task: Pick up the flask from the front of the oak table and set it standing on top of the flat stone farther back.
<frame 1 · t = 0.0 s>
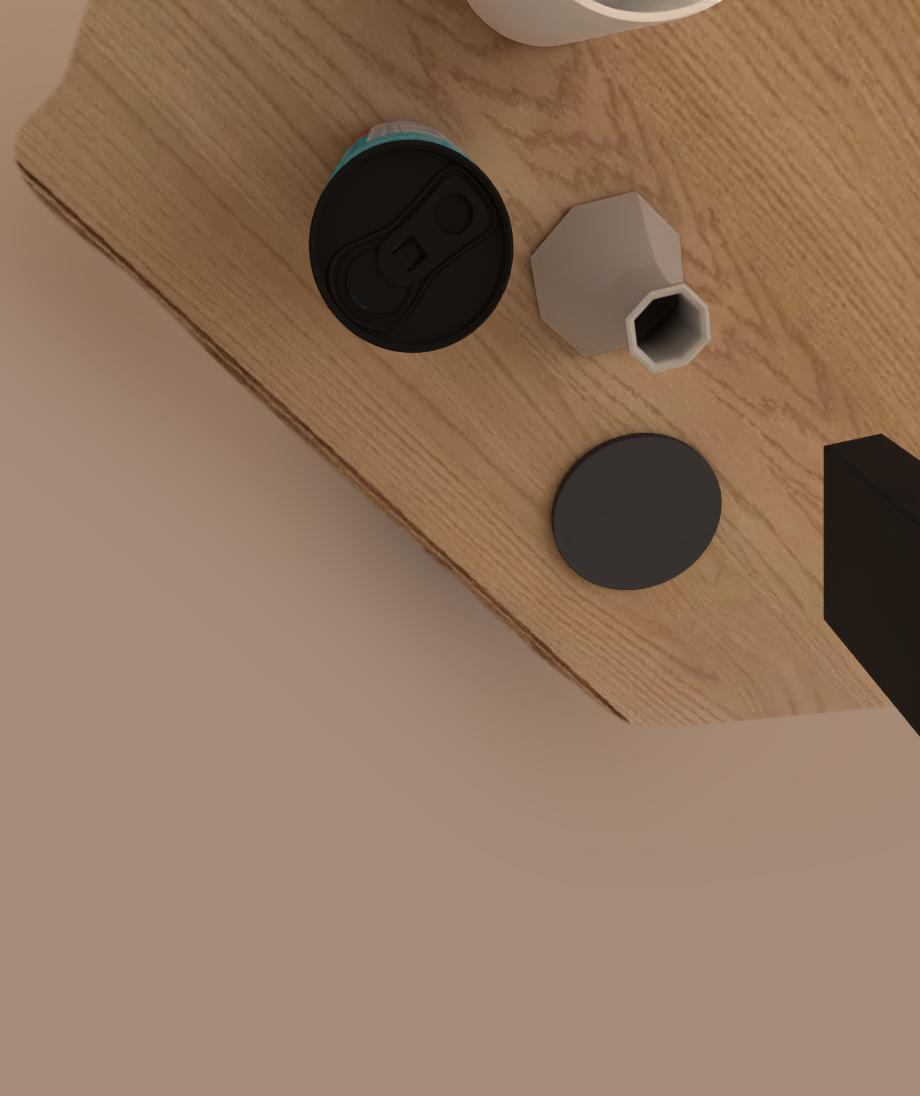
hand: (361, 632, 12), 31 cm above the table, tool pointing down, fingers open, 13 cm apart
beverage can: (403, 193, 39), on the table
slate coaster: (634, 512, 47), on the table
flask: (606, 275, 41), on the table
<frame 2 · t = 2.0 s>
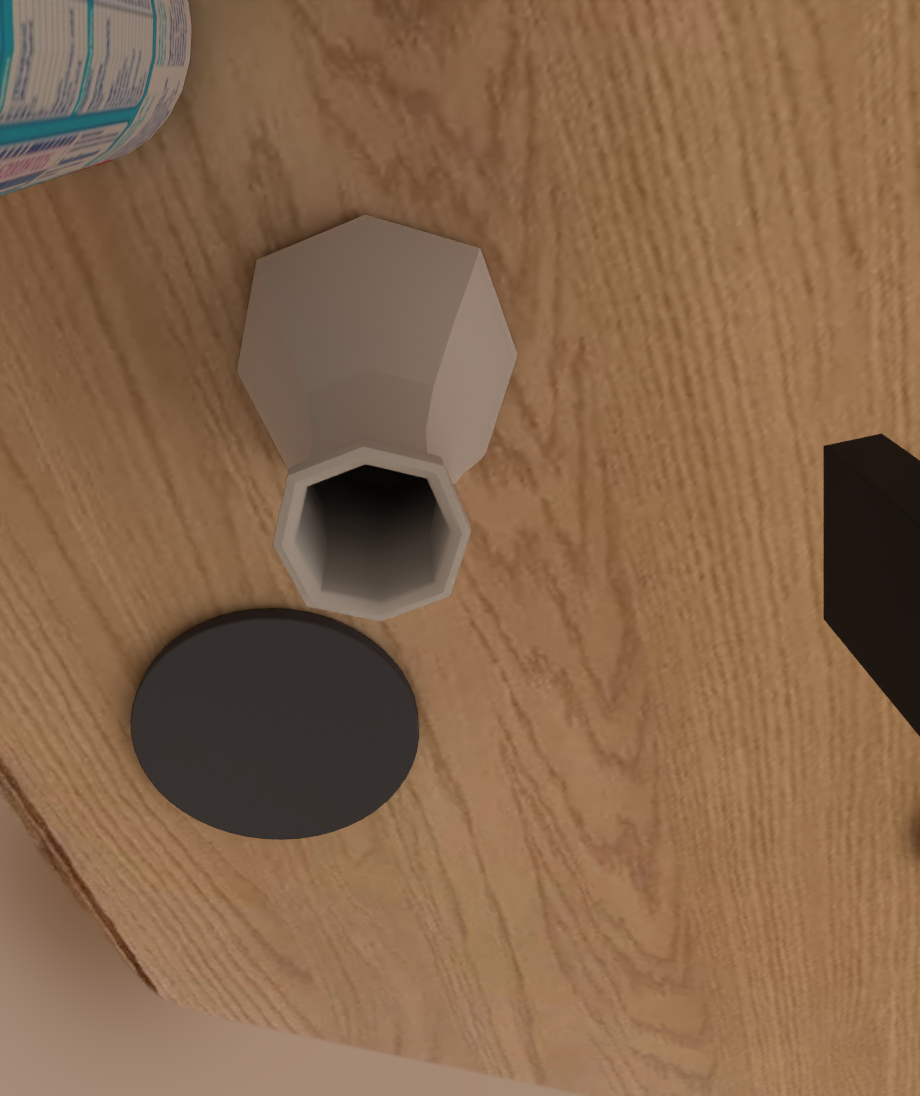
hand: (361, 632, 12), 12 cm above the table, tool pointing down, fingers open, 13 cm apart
beverage can: (60, 14, 19), on the table
slate coaster: (279, 725, 28), on the table
flask: (378, 357, 23), on the table
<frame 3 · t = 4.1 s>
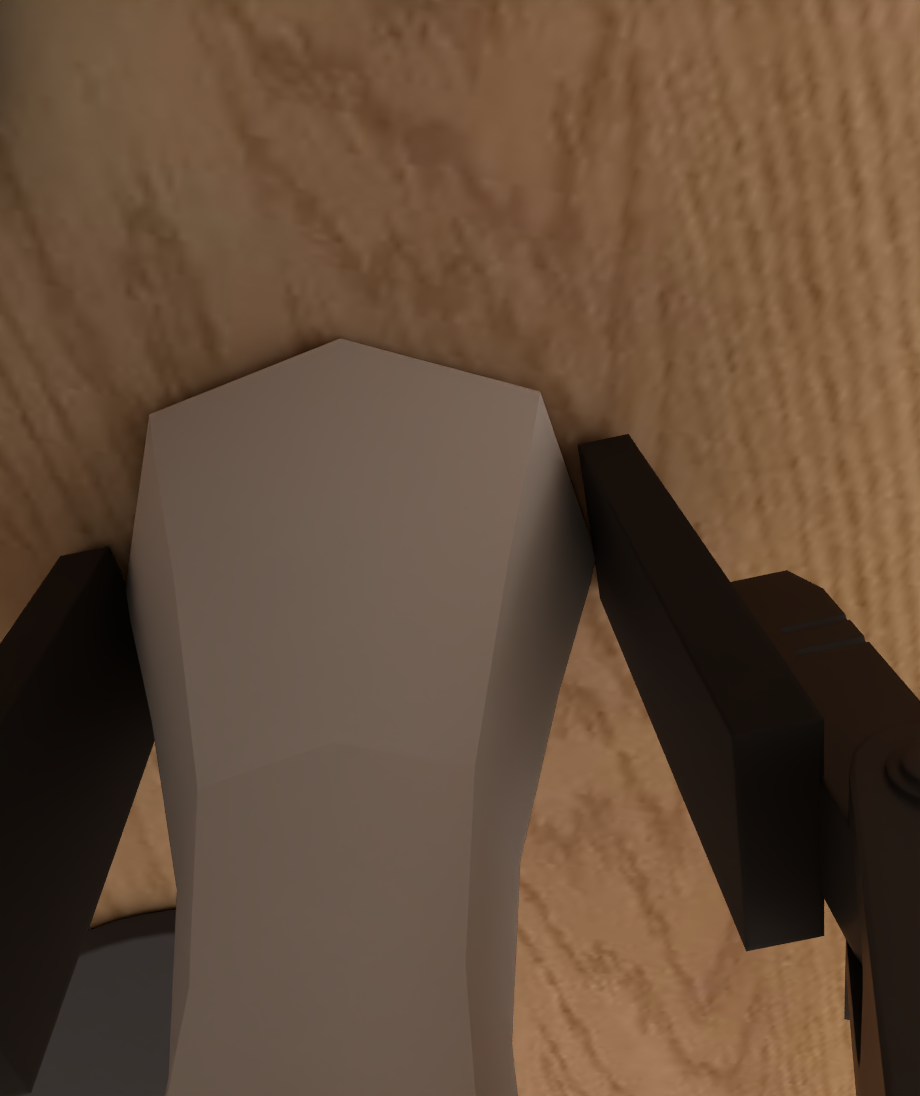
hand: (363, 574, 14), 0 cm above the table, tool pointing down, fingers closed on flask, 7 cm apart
slate coaster: (217, 1049, 19), on the table
flask: (364, 556, 14), on the table, touching gripper
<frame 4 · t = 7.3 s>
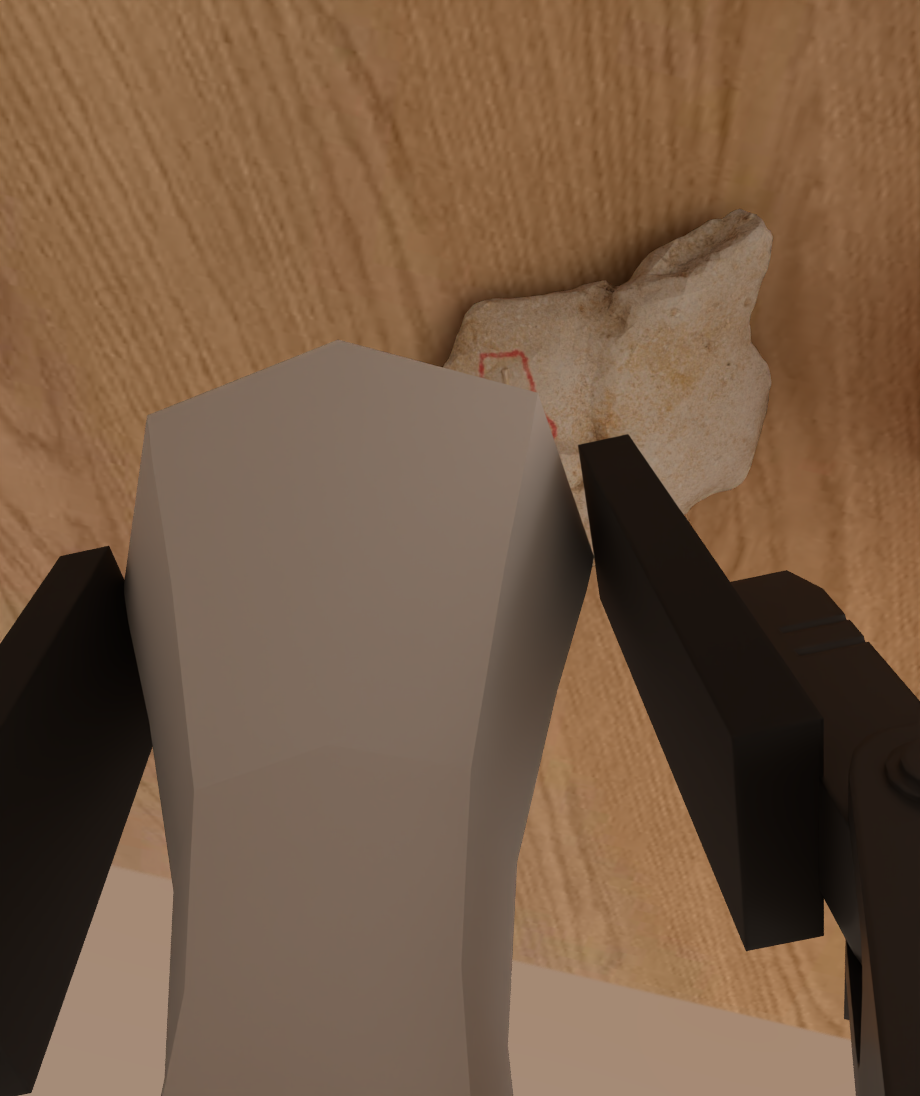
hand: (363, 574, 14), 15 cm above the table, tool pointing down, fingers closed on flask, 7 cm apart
flask: (362, 557, 14), point 15 cm above the table, touching gripper
stone: (584, 421, 29), on the table
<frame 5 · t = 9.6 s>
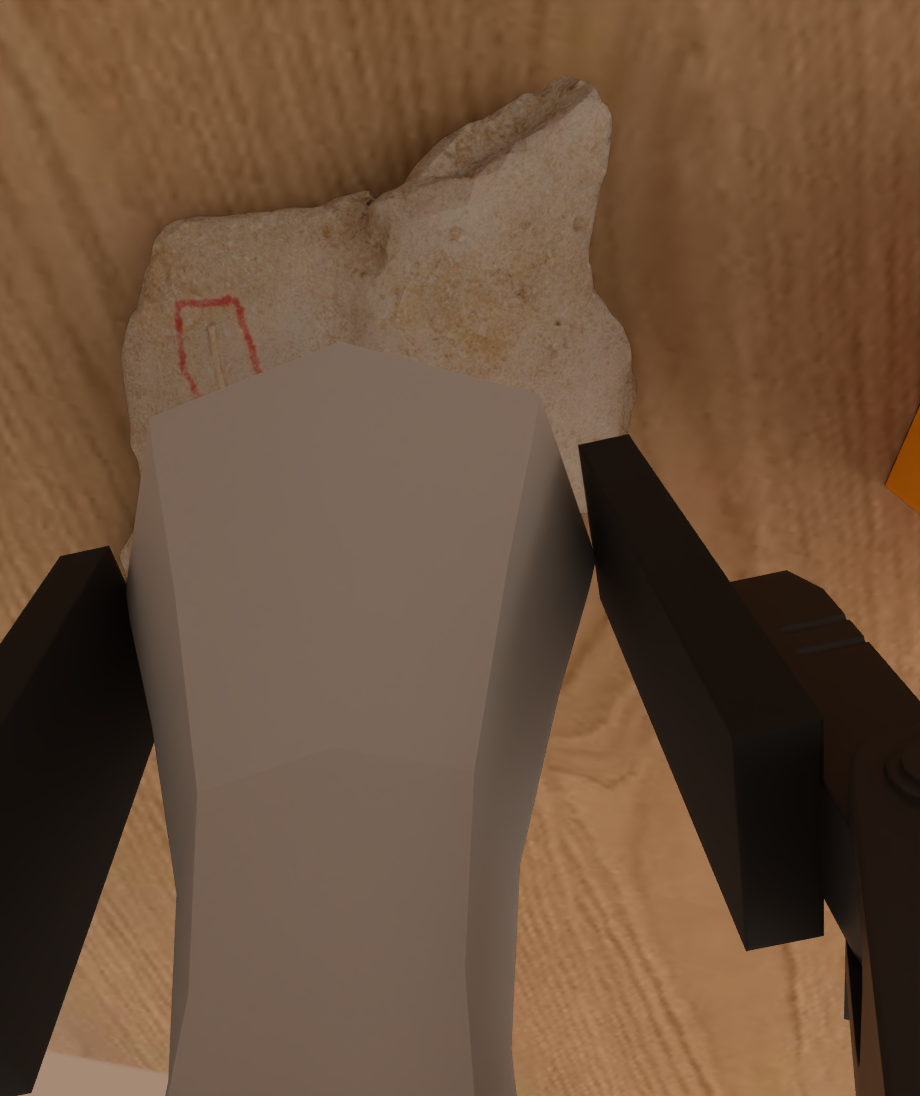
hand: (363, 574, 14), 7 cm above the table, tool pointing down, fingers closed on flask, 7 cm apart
flask: (364, 559, 14), point 7 cm above the table, touching gripper
stone: (370, 410, 20), on the table
when the fingers open (3 cm above the table, at t = 11.1 s): flask stays where it is, resting on stone.
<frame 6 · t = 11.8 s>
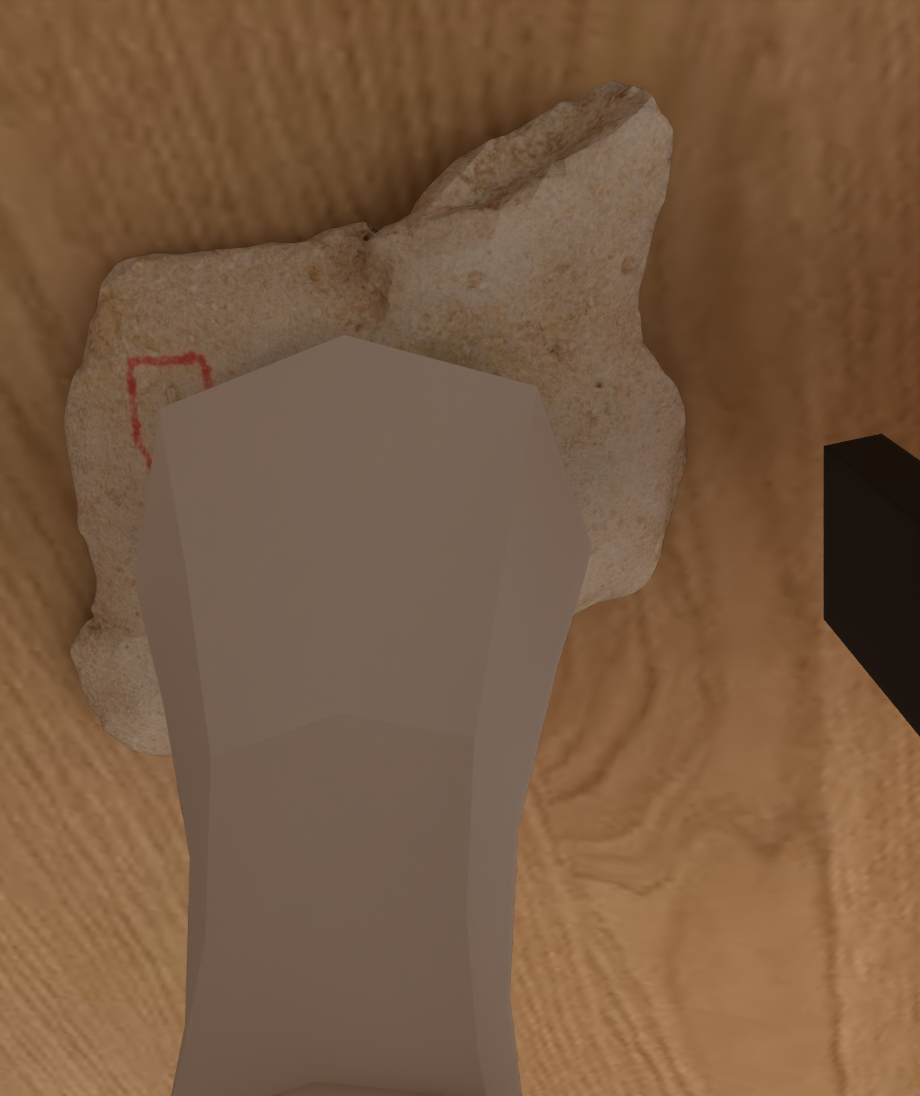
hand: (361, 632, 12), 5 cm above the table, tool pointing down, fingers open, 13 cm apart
flask: (367, 548, 14), point 3 cm above the table, touching stone
stone: (368, 478, 17), on the table, touching flask
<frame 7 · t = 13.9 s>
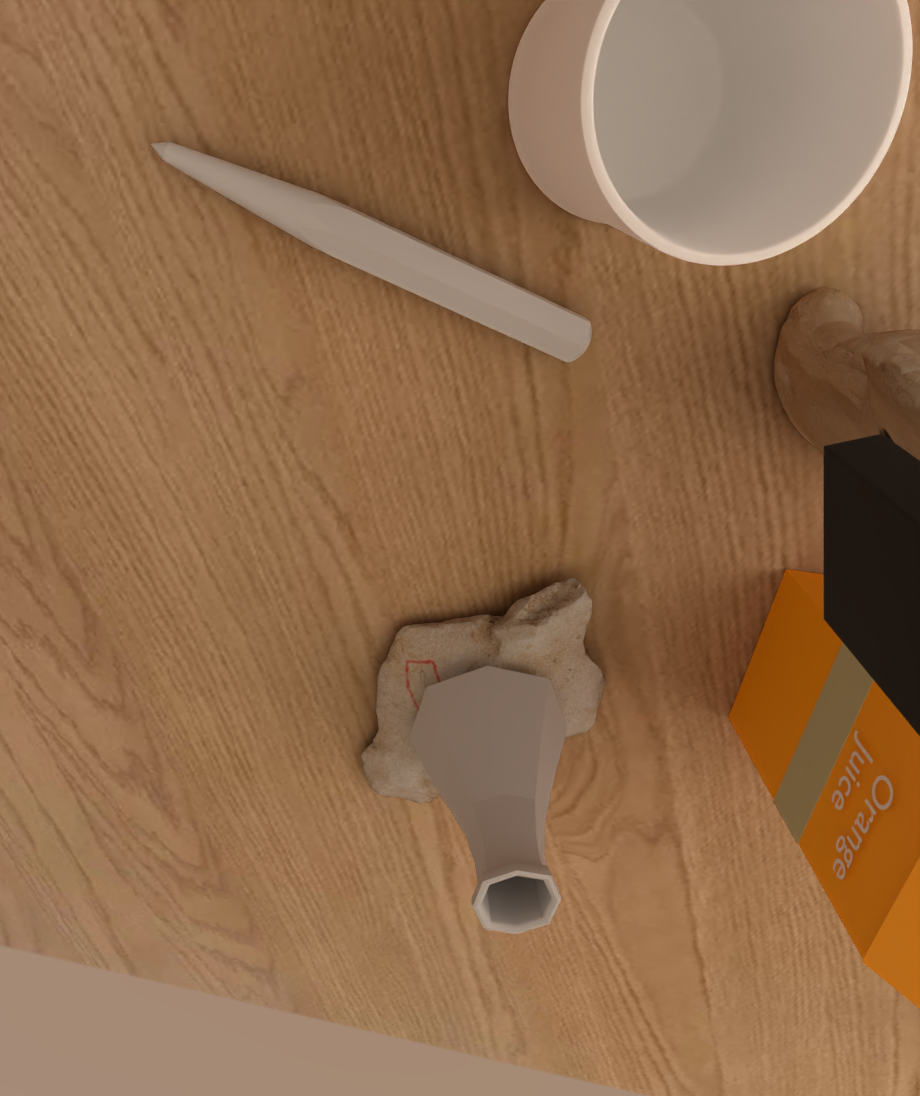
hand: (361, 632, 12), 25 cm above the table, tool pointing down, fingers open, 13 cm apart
orange juice: (823, 652, 44), on the table
figurine: (868, 373, 37), on the table
flask: (487, 725, 40), point 3 cm above the table, touching stone
stone: (481, 688, 43), on the table, touching flask
tool: (383, 246, 33), on the table
mug: (624, 46, 31), on the table
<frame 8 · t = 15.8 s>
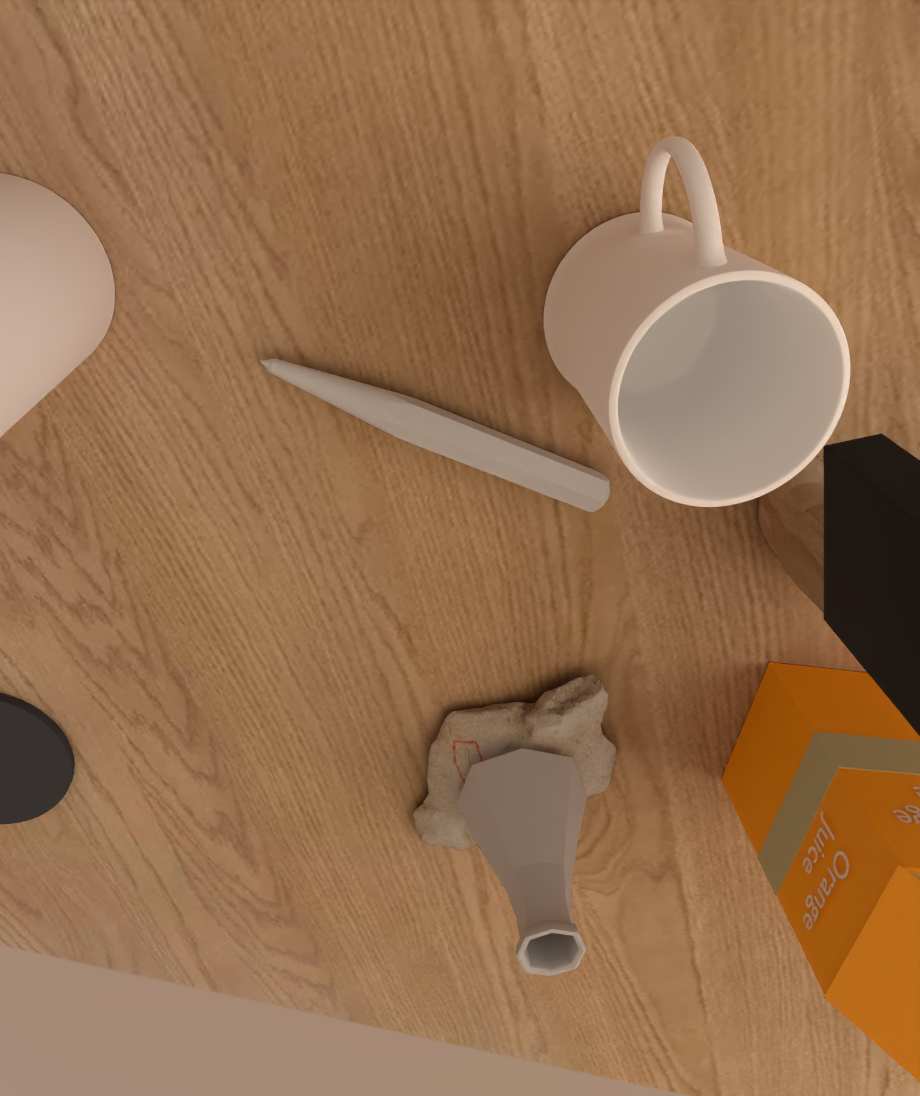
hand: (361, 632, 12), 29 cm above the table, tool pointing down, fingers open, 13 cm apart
orange juice: (801, 726, 52), on the table
figurine: (836, 510, 45), on the table
cup: (15, 278, 37), on the table
flask: (520, 793, 49), point 3 cm above the table, touching stone
stone: (513, 758, 51), on the table, touching flask
tool: (441, 423, 41), on the table
mug: (637, 274, 39), on the table
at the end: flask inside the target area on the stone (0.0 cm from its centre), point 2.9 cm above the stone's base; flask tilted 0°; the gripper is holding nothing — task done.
